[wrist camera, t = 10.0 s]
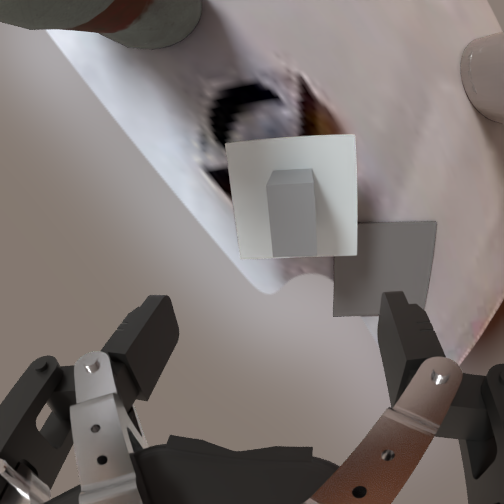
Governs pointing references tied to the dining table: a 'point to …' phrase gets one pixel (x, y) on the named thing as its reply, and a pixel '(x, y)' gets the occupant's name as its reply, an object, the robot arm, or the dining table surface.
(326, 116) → the dining table surface
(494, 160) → the dining table surface
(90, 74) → the dining table surface
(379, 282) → the mat
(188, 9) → the bottle
